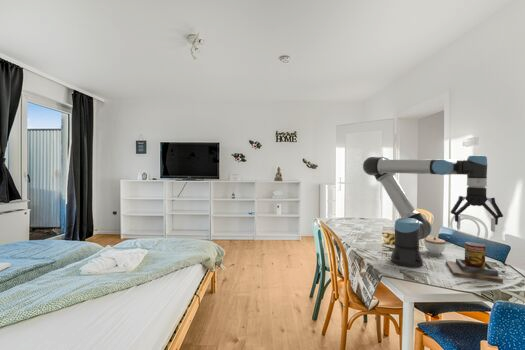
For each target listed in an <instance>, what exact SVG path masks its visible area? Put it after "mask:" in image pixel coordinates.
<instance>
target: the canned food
mask: <svg viewBox="0 0 525 350" xmlns="http://www.w3.org/2000/svg"><path fill="white" fill-rule="evenodd" d="M464 259H465V266H467V267H475V268H483V269H485V262H486V244H484V243H482V242H481V243H480V242H478V241H476V242H475V241H465V242H464Z"/></svg>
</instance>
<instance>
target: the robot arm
mask: <svg viewBox="0 0 525 350" xmlns="http://www.w3.org/2000/svg"><path fill="white" fill-rule="evenodd" d="M362 168H363V171H364V173H366V175H369V176H372V177H373V176H374V178H375V179H376V181H377V182H380V183H381V185H382V186H383V188H384V190H385V192H386V193H387V195H388V197H389V199H390V200H391V202H392V204H393V205H394V207H395V209H396V211H397V213H398V214H399V216H400V218H397V219H396V220H395V221H394V247H393V251H392V254H391V255H390V261H391V262H392V263H393V264H395V265H397V266H398V265H399V266H403V267H408V268H420V267H422V266H423V265H424V263H423V262H424V261H423V258H422V255H421V251H420V240H423V239H425V238H428V236H430V235H431V233H432V224H431V222H430V221H429V220H428V219H427V218H424V216H423V215H422V213H421V212H419V211H416V209H415V207H414V206H413V204H412V202H411V201H410V199H409V198H408V196H407V194H406V193H405V191H404V189H403V188H402V187H401V184H400V183H399V181H398V180H397V178H396V174H415V175H440V176H446V175H447V176H449V175H462V176H463V175H466V176H467V177H466V186H467V187H466V196H462V195H459V196H458V200H457V201H456V203H455V204H454V206H453V207H452V209H451V210H450V214H452V215H454V222H456V228H457V229H459V230H461V215H460V214H462V212H464V211H465V210H466V209H467V208H469V207H470V206H473V207H475V206H477V207H483V208H484V209H485V210H486V211H487V212H488V213H489V214H490V215H491V219H490V231H491V232H493V233H495V232H496V225H497V226H498V224H499V218H503V217H504V214H503V213H502V211H501V210H500V208H499V206H498V205H497V203H496V198H495V197H493V196H490V197H487V186H488V185H487V182H488V181H487V180H488V177H487V175H488V157H487V156H486V155H468V156H467V159H447V158H439V159H435V158H434V159H433V158H432V159H425V158H424V159H389V158H387V157H383V156H370V157H368V158H366V159H365V160H364V162H363V163H362ZM465 200H466V202H465V203H464V204H463V205H462V206H461V207H460V205H461V204H462V203H463V201H465ZM487 201H488V202H489V203H490V205H491V206H492V207H493V209H494V211H495V212H494V211H493V210H492V209H491V207H490V206H489V205H487V203H486V202H487Z"/></svg>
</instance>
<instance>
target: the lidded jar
mask: <svg viewBox="0 0 525 350" xmlns="http://www.w3.org/2000/svg"><path fill="white" fill-rule="evenodd" d="M424 247H425V248H426V250H427V251H428V253H430V254H433V255H440V254H442V253H443V252H444V251H445V249H446V240H445V239H441V238H437V237H436V236H433V237H426V238H424Z"/></svg>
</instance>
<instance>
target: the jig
mask: <svg viewBox="0 0 525 350" xmlns="http://www.w3.org/2000/svg"><path fill="white" fill-rule="evenodd" d="M445 264H446V267H447V268H448V269H449V271H450V272H451V273H452V275H453V276H455V277H461V278H467V279H468V278H469V279H475V280H482V281H483V280H484V281H487V282H488V281H489V282H496V283H497V282H498V283H503V282H504V279H503V278H502V277H501V276H500V275H499V271H498V270H497V269H496V268H495V267H494V266H493V265H491V263H489V262H488V261H485V269H483V268H475V267H467V266H465V258H455V261H452V260H451V261H449V260H445Z"/></svg>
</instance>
